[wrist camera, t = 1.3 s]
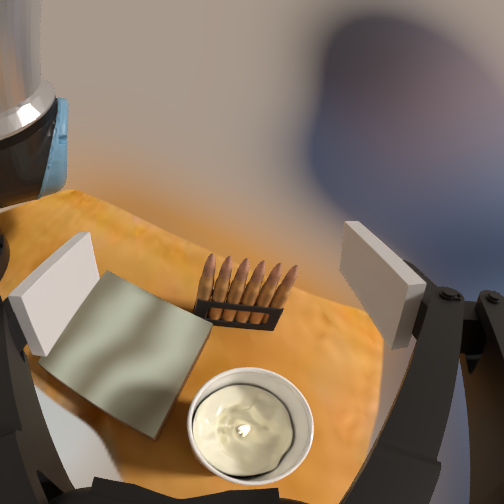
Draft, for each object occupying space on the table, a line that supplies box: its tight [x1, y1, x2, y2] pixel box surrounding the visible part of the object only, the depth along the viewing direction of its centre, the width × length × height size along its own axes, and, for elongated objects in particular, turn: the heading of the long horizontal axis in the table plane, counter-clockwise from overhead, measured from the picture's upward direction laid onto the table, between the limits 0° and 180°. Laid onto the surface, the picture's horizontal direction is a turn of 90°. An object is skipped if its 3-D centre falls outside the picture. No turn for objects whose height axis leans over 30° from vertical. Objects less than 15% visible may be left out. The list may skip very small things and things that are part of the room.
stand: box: [38, 270, 213, 441], centre depth 31 cm, size 15×15×3 cm
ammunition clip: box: [193, 253, 298, 331], centre depth 35 cm, size 11×2×12 cm, turn 91°
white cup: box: [187, 367, 314, 485], centre depth 25 cm, size 10×10×12 cm
